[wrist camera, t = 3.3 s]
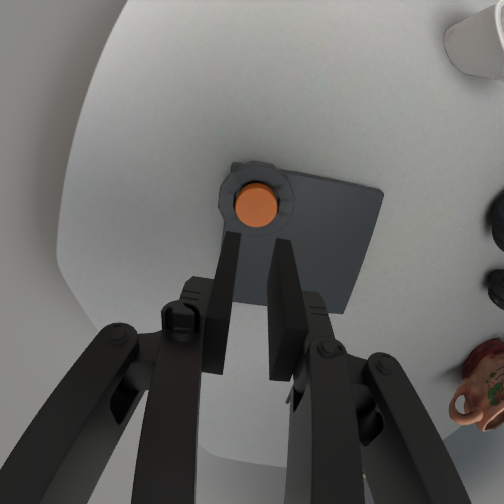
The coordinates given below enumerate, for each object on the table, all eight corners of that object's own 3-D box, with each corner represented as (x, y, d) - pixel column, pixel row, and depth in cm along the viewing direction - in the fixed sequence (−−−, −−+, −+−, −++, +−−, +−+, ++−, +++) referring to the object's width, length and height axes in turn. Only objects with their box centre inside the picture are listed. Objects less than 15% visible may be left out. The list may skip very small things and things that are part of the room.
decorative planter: (424, 396, 42) (446, 455, 30) (438, 355, 36) (471, 424, 24) (500, 362, 39) (527, 410, 27) (519, 320, 34) (555, 370, 22)
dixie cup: (495, 50, 16) (556, 49, 8) (478, 102, 20) (545, 113, 11) (443, 0, 15) (502, -20, 6) (423, 52, 19) (489, 39, 10)
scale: (212, 292, 31) (208, 309, 29) (227, 155, 25) (223, 160, 22) (340, 307, 32) (346, 324, 29) (381, 184, 25) (394, 193, 23)
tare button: (234, 216, 24) (232, 224, 23) (239, 179, 23) (238, 185, 21) (272, 222, 25) (273, 230, 23) (279, 185, 23) (280, 191, 22)
